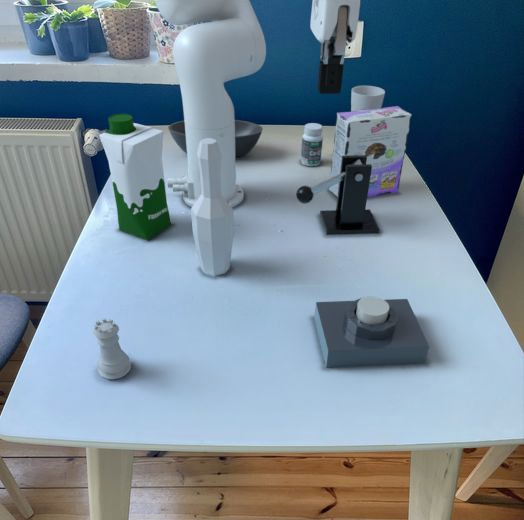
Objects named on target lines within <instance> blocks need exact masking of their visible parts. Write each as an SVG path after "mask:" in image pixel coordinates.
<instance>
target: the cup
mask: <svg viewBox="0 0 524 520" xmlns="http://www.w3.org/2000/svg"><path fill="white" fill-rule="evenodd" d="M385 94H386V91H385V89H383V88H381V87H380V86H379V87H378V86H373V85H357V86H354V87H352V88H351V94H350V95H351V98H350V105H351V107H350V112H351V111H360V110H369V109H378V108H383V107H382V106H383V104H384V103H383V102H384V98H385Z"/></svg>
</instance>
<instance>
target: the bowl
mask: <svg viewBox="0 0 524 520" xmlns="http://www.w3.org/2000/svg"><path fill="white" fill-rule="evenodd" d="M167 129H168V131H169V134H170V136H171V137H172V140H174V142H175V144H176V145H177V146H178V147H179V149H180V150H181V151H183V152H184V153H185V154H186V155H187V146H186V134H185V122H184V120H181V121H176V122H172V123H171V124H169V125H168V127H167ZM263 130H264V128H263V127H262V126H261V124H258V123H255V122H251V121H247V120H239V119H235V160H238V159H243V158H245V157H246V156H247V155H248V154H249V153H250V152H251V151H253V149H254V148H255V146H256V145H257V143H258V142H259V139H260V138H261V135H262V132H263Z"/></svg>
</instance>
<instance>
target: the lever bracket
mask: <svg viewBox="0 0 524 520" xmlns="http://www.w3.org/2000/svg"><path fill="white" fill-rule="evenodd" d="M359 159H360V161H361V163H362V164H359V165H348V164H350V163H352V162H355V161H357V160H359ZM366 161H367V156H366V155H351V156H342V162H341V170H340V174H341V173H343V172H345V171H346V173H345V180H343V181H341V182H339V188H338V196H337V198H336V206H335V209H332V210H331V209H330V210H328V209H327V210H326V209H325V210H319V217H320V220H321V222H322V226H323V229H324V233H325V235H326V236H334V235H335V236H336V235H337V236H339V235H375V234H379V233H380V228H379V226H378V224H377V220H376V219H375V218H374V217H375V216H374V215H373V213H372V212H371V209H370V208H369V209H368V208H367V202H368V197H367V196H368V190H369V183H370V177H371V170H372V166H371V164H366ZM345 166H346V167H345ZM366 208H367V209H366Z"/></svg>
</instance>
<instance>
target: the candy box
mask: <svg viewBox="0 0 524 520" xmlns="http://www.w3.org/2000/svg"><path fill="white" fill-rule="evenodd" d="M412 117H413V116H412V114H411V113H410V112H408V111H407V110H405V109H403V108H402V107H400V106H398V105H396V106H387V107H381V108H378V109H369V110H360V111H351V110H350V111H342V112H336V119H335V128H334V136H333V137H334V139H333V148H332V158H331V168H330V178H332V177H335V176H337V175H339V174H340V170H341V162H342V156H351V155H366V156H367V161H366V164H371V166H372V170H371V177H370V183H369V190H368V196H367V198H368V197H369V198H370V197H375V196H376V197H377V196H382V195H388V194H389V195H390V194H395V193H398V192H399V188H400V182H401V178H402V177H401V176H402V171H403V165H404V160H405V154H406V150H407V144H408V137H409V132H410V126H411V121H412ZM330 178H329V179H330ZM338 188H339V183H337V184H335V185H333V186H331V187H329V188H328V189H329V190H328V191H330V193H332V195H333V196H334V197H335V198H336V199H337V196H338Z"/></svg>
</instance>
